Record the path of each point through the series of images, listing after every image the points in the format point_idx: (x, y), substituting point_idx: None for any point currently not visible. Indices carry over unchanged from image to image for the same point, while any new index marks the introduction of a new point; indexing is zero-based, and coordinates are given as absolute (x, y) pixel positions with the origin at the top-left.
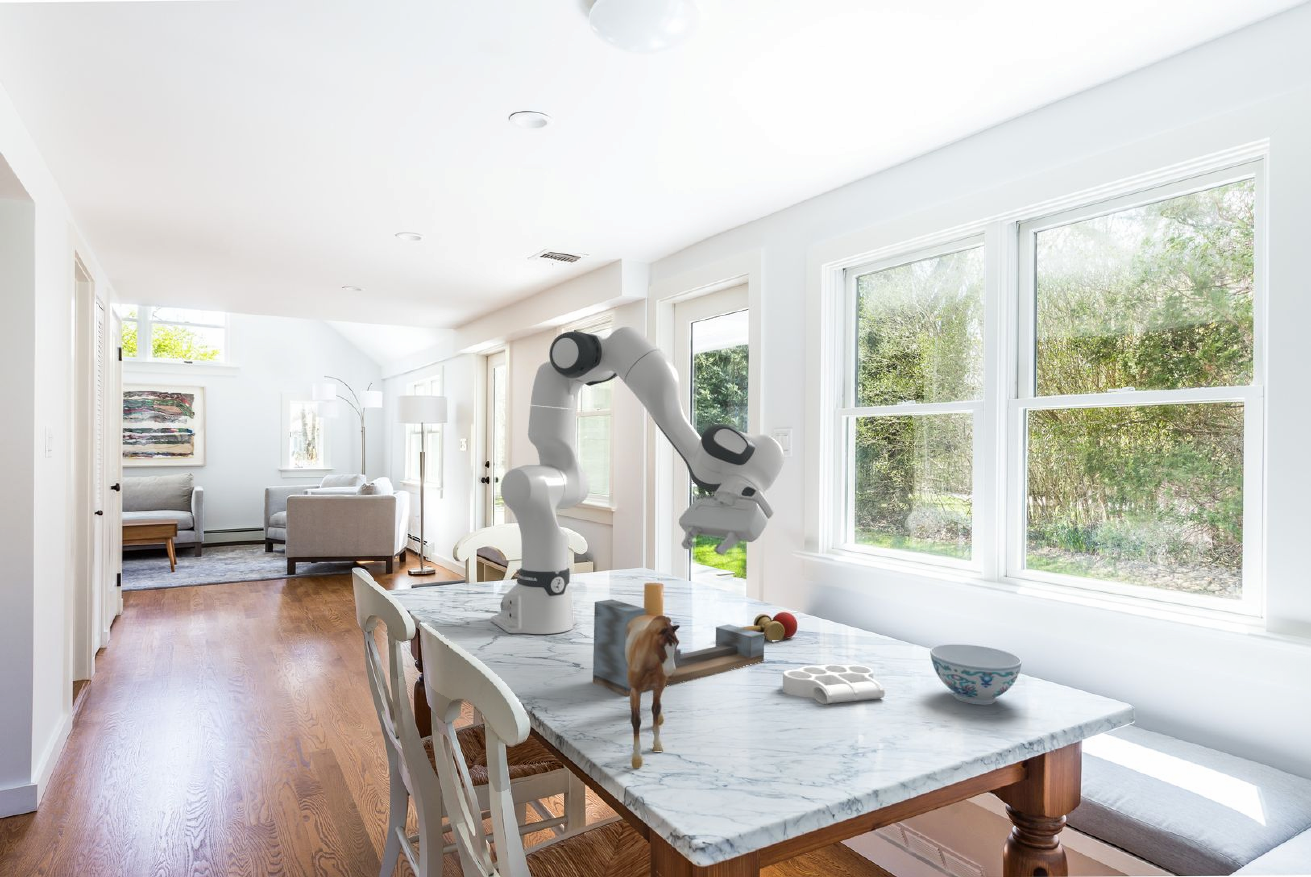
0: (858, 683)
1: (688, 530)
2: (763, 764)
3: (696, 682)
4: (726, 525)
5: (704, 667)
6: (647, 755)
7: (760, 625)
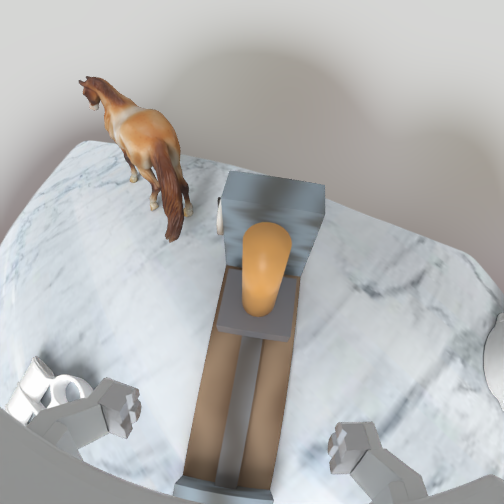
0: (16, 400)
1: (403, 480)
2: (64, 209)
3: (197, 347)
4: (52, 463)
5: (206, 381)
6: (137, 172)
7: None
